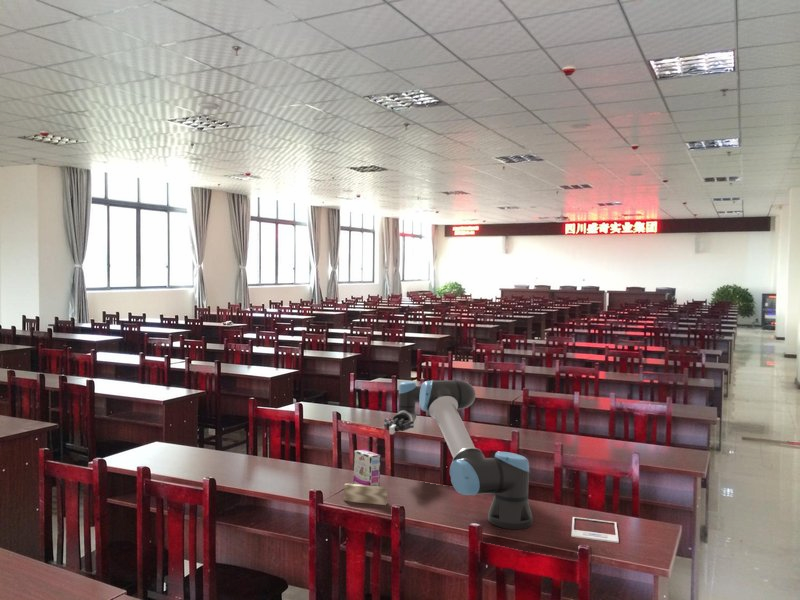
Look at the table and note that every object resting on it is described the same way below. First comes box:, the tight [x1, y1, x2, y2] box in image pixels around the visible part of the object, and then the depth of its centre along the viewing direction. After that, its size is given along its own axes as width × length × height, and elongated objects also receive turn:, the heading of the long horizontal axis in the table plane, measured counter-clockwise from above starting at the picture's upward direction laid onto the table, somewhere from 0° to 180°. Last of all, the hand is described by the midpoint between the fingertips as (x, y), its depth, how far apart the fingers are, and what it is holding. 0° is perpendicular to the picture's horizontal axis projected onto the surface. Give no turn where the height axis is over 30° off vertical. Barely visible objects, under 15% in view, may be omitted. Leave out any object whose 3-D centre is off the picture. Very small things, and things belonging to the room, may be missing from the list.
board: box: [343, 482, 388, 506], centre depth 234 cm, size 16×2×6 cm, turn 78°
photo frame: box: [570, 516, 620, 544], centre depth 213 cm, size 15×1×18 cm
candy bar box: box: [353, 449, 382, 486], centre depth 242 cm, size 11×5×16 cm, turn 38°
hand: (391, 430), depth 253 cm, fingers closed
